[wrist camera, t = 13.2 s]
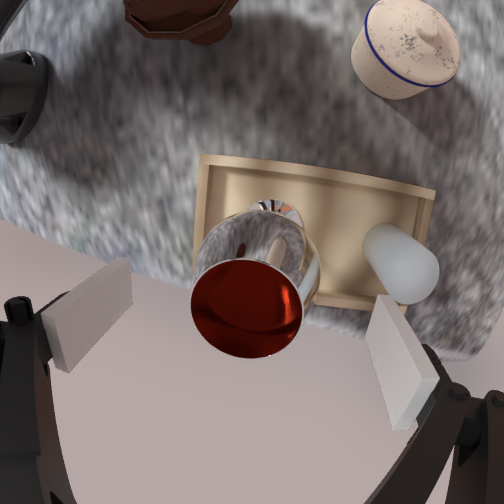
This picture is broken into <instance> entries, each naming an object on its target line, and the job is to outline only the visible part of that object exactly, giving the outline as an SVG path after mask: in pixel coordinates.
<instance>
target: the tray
mask: <svg viewBox="0 0 504 504" xmlns="http://www.w3.org/2000/svg"><path fill="white" fill-rule="evenodd" d="M435 192H436V191H435V190H431V189H428V188H424V187H420V186H416V185H412V184H407V183H403V182H398V181H394V180H389V179H384V178H379V177H374V176H369V175H364V174H359V173H353V172H348V171H342V170H336V169H330V168H324V167H318V166H311V165H304V164H297V163H290V162H282V161H274V160H266V159H257V158H247V157H237V156H226V155H213V154H200V160H199V172H198V184H197V197H196V212H195V228H194V247H193V268H194V263H195V259H196V256H197V253H198V250H199V248H200V246H201V244H202V242H203V240H204V239H205V237H206V236H207V234H208V233H209V232H210V231H211V230H212V228H213V227H215V226H216V225H217V224H218V223H219V222H221V221H222V220H223V219H225V218H227V217H229V216H231V215H233V214H236V213H238V212H242V211H247V210H248V208H249V207H250V206H251V205H253V204H254V203H256V202H258V201H260V200H263V199H269V198H273V199H279V200H282V201H285V202H287V203H288V204H290V205H291V206H292V207H293V208H294V209H295V210H296V211H297V213H298V214H299V216H300V219H301V222H302V228H303V229H304V230H305V231H306V232H307V233H308V235H309V236H310V238H311V239H312V241H313V243H314V244H315V247H316V249H317V251H318V255H319V258H320V264H321V281H320V287H319V291H318V295H317V298H316V300H315V303H314V304H316V305H324V306H332V307H340V308H348V309H357V310H365V311H373V310H374V306H375V303H376V300H377V296H378V294H382V295H389V293H388V292H387V290H386V289H385V287H384V285H383V284H382V282H381V281H380V279H379V278H378V276H377V275H376V273H375V272H374V270H373V269H372V267H371V266H370V264H369V263H368V261H367V260H366V258H365V256H364V253H363V240H364V237H365V235H366V234H367V232H368V231H369V230H370V229H371V228H372V227H374V226H375V225H377V224H380V223H391V224H394V225H396V226H397V227H399V228H400V229H401V230H403V231H404V232H405V233H407V234H408V235H410V236H411V237H412V238H414V239H415V240H416V241H418V242H419V243H420V244H422V245H423V246H425V242H426V238H427V233H428V229H429V224H430V219H431V214H432V209H433V204H434V198H435ZM192 273H193V270H192ZM394 301H395V300H394ZM395 302H396V304H397V305H398V307H399V309H400V310H401V312H402V313H403V314H404V315H405V312H406V309H407V306H408V304H401V303H399V302H397V301H395Z"/></svg>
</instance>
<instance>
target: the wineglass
mask: <svg viewBox="0 0 504 504" xmlns="http://www.w3.org/2000/svg"><path fill="white" fill-rule="evenodd" d="M320 281H321V264H320V258H319V255H318V251H317V249H316V247H315V244H314V243H313V241H312V239H311V238H310V236H309V235H308V233H307V232H306V231H305V230H304V229H303V228H302V222H301V219H300V216H299V214H298V213H297V211H296V210H295V209H294V208H293V207H292V206H291V205H290V204H288V203H287V202H285V201H282V200H279V199H273V198H269V199H263V200H260V201H258V202H256V203H254V204H253V205H251V206H250V207H249V208H248V210H247V211H242V212H238V213H236V214H233V215H231V216H229V217H227V218H225V219H223V220H222V221H221V222H219V223H218V224H217V225H216V226H215V227H213V228H212V230H211V231H210V232H209V233H208V234H207V236H206V237H205V239H204V240H203V242H202V244H201V246H200V248H199V250H198V253H197V256H196V259H195V263H194V268H193V273H192V280H191V288H190V299H189V311H190V316H191V319H192V322H193V325H194V327H195V328H196V330H197V332H198V333H199V335H200V336H201V337H202V338H203V339H204V340H205V341H206V342H207V343H208V344H209V345H210V346H211V347H213V348H214V349H216V350H217V351H219V352H221V353H223V354H225V355H228V356H231V357H234V358H238V359H245V360H256V359H264V358H267V357H271V356H274V355H276V354H278V353H280V352H282V351H283V350H285V349H286V348H287V347H288V346H290V345H291V344H292V342H293V341H294V340H295V339H296V337H297V336H298V334H299V332H300V331H301V329H302V327H303V325H304V323H305V321H306V320H307V318H308V316H309V314H310V312H311V310H312V307H313V305H314V303H315V300H316V298H317V295H318V291H319V287H320Z"/></svg>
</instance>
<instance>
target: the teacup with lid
mask: <svg viewBox="0 0 504 504" xmlns="http://www.w3.org/2000/svg"><path fill="white" fill-rule="evenodd" d="M351 60H352V65H353V68H354V71H355V73H356V75H357V76H358V78H359V79H360V81H361V82H362V83H363V84H364V85H365V86H366V87H367V88H368V89H369V90H371V91H372V92H374V93H375V94H377V95H379V96H382V97H384V98H388V99H393V100H400V99H406V98H409V97H411V96H413V95H415V94H417V93H420V92H422V91H424V90H426V89H428V88H430V87H438V86H441V85H444V84H446V83H447V82H449V81H450V80H451V79H452V78H453V77H454V75H455V74H456V72H457V70H458V67H459V64H460V47H459V43H458V40H457V37H456V35H455V33H454V31H453V29H452V28H451V26H450V25H449V23H448V22H447V21H446V20H445V18H444V17H443V16H442V15H441V14H440V13H438V12H437V11H436V10H435V9H433V8H432V7H430V6H429V5H427V4H425V3H423V2H421V1H419V0H380V1H378V2H376V3H375V4H374V5H373V6H372V7H371V8H370V9H369V11H368V13H367V15H366V18H365V24H364V26H363V28H362V30H361V32H360V33H359V35H358V37H357V39H356V41H355V43H354V45H353V47H352V52H351Z"/></svg>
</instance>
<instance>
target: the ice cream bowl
mask: <svg viewBox="0 0 504 504" xmlns="http://www.w3.org/2000/svg"><path fill="white" fill-rule="evenodd" d="M238 1H239V0H123V3H124V5H125V20H126V21H127V22H128V23H130V24H131V25H132V26H133V27H134V28H135V29H136V30H138V31H139V32H140V33H141V34H142V35H143V36H144V37H147V38H150V39H176V40H190V41H191V42H193V43H194V44H201V45H210V44H212V43H214V42H216V41H219V40H221V39H223V38H224V36H225V35H226V33H227V32H228V31H229V29H230V28H231V22H230V15H229V13H230V11H231V10H232V9H233V7H234V6H235V5H236V4H237V2H238Z"/></svg>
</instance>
